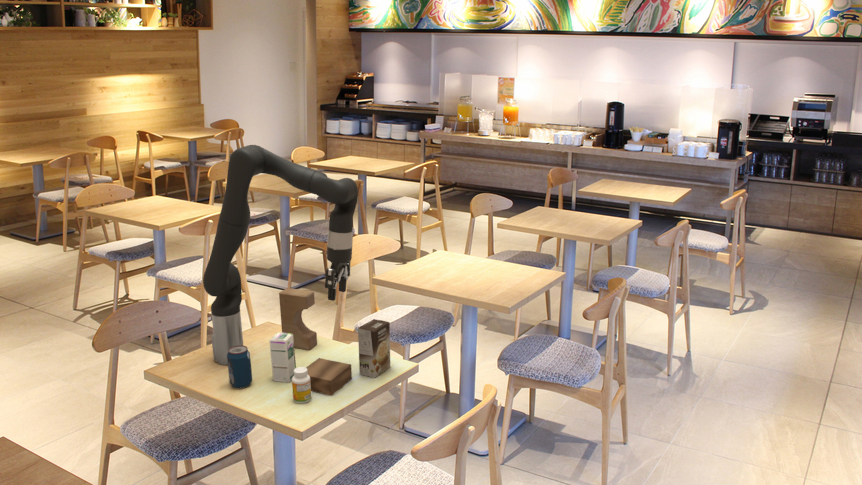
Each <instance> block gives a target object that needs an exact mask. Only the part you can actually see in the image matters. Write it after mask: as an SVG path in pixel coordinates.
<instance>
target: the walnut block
mask: <svg viewBox="0 0 862 485" xmlns="http://www.w3.org/2000/svg"><path fill="white" fill-rule="evenodd" d="M305 368H307V371H308V375H309V376H310V382H311V392H313V393H319V394H322V395H328V396H330V397H332V396H333V395H335V393H337V392H338V391H339V390H340V389H342V388H343V387H344V386H345V385H347V383H349V382H350V381H351V380H352V379H353V370H352V364H350V363H346V362H341V361H336V360H331V359H326V358H321V357H318V358H317V359H315V360H314V361H313V362H311V363H310V364H308V365H307V366H305Z"/></svg>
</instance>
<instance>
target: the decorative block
mask: <svg viewBox="0 0 862 485" xmlns="http://www.w3.org/2000/svg"><path fill="white" fill-rule="evenodd" d="M278 296H279V298H278V299H279V312H280V323H281V324H280V325H281V333H291V334H293V339H294V349H299V350H300V349H302V350H306V351H310V350H312V349H313V348H314V347H315V346H317V345H318V337H317V336H318V334H317V331H314V330H312V329H310V328H309V327H308V326H307V325H306V324H305V322H304V321H303V316H302V315H303V311H304V310H308V309H309V308H311V307H313V306H314V305H315V303H316V302H315V291H313V290H306V289H298V288H289V287H286V288H285V289H283V290H281V291H280V292H279V293H278Z"/></svg>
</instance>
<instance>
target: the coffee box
mask: <svg viewBox="0 0 862 485" xmlns="http://www.w3.org/2000/svg"><path fill="white" fill-rule="evenodd" d="M357 327H358V326H357ZM390 328H391V327H390V321H385V320H381V319H375V318H374V319H371V320H369V321H368V322H366V323H364V324H362V325H361V326H359V327H358V328H357V332H358V333H357V334H358V336H357V337H358V338H357V340H358V365H359V366H358V367H359V371H358V372H359V375H361V376H365V377H368V378H373V379H375V378H377V377H378V376H380V375H381V374H383V373H384V372H386V371H387V370H389V369H390V368H391V335H390V334H391V333H390V332H391V329H390Z"/></svg>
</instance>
